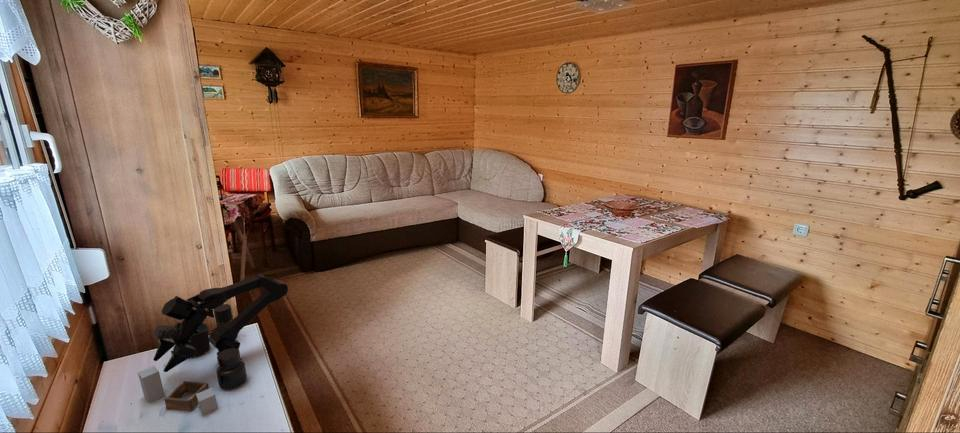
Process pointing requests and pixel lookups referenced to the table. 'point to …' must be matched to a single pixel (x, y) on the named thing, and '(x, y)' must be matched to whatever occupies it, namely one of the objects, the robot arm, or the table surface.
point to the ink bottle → (230, 369)
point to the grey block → (206, 401)
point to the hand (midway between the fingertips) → (159, 366)
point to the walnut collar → (183, 404)
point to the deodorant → (223, 314)
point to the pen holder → (201, 340)
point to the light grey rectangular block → (151, 384)
